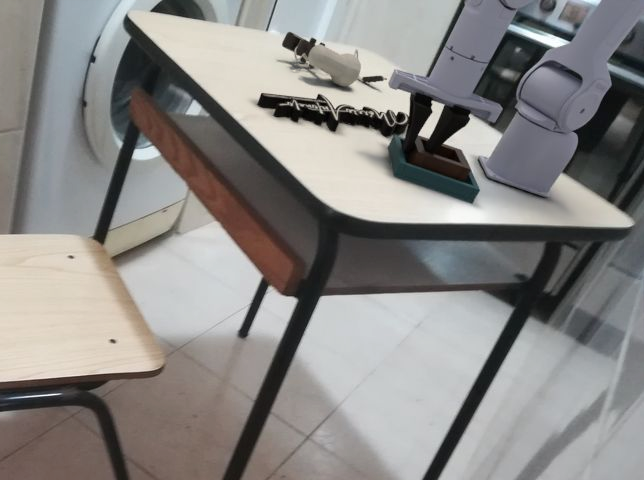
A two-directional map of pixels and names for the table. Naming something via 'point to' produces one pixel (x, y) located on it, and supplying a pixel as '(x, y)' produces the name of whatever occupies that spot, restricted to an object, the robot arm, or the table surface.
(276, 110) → the nameplate
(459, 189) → the holder
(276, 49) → the table surface
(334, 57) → the clip-on lamp
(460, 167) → the frame
